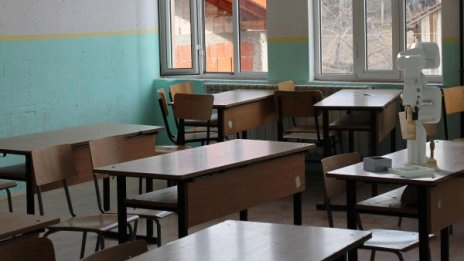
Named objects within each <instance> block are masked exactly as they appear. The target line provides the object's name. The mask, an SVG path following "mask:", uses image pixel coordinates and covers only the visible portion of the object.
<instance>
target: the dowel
mask: <svg viewBox="0 0 464 261" xmlns="http://www.w3.org/2000/svg"><path fill="white" fill-rule="evenodd" d="M415 108H416V107H415ZM412 112H413V107H412V106H407V119H406V140H416V120H412Z"/></svg>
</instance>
